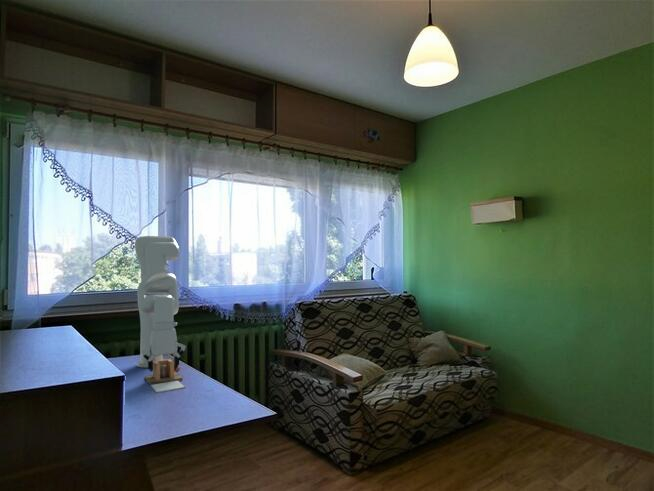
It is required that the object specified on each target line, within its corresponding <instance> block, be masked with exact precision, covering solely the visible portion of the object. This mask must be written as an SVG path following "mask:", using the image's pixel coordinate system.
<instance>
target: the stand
mask: <svg viewBox="0 0 654 491" xmlns="http://www.w3.org/2000/svg"><path fill="white" fill-rule="evenodd" d="M144 380H146V382H147V383H148V384H149V386H151V385H154V384H160V383H167V382H173V381H179V382H180V381H183V380H184V379H183V377H182V376H181V375H180V374H179V373H178V372H177V371H176V372H175V371H174V377H173V378H170V377H169V376H168V375H166V365H161V376H160V380H156V379H155V378H154V377H153V374H147V375H144Z"/></svg>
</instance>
